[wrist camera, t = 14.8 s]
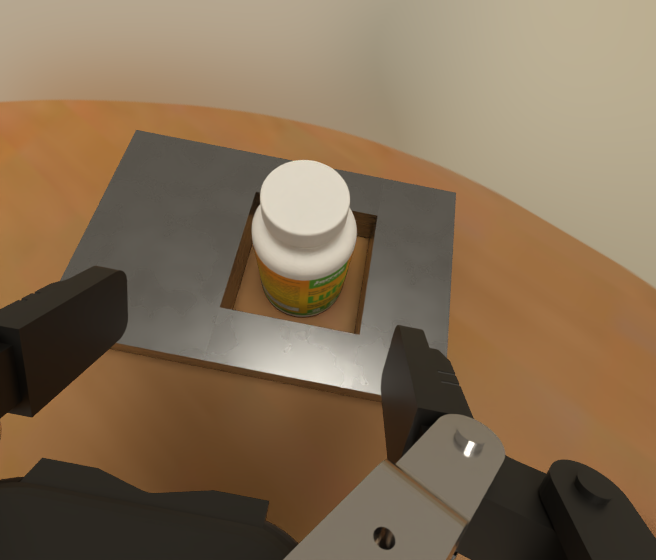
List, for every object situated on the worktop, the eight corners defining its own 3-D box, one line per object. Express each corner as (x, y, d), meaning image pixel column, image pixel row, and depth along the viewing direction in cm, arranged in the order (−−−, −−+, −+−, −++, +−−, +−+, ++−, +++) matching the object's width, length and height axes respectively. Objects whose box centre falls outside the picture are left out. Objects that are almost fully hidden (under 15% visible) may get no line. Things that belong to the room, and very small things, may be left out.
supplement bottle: (311, 335, 24) (318, 274, 15) (245, 287, 25) (216, 203, 16) (357, 273, 26) (389, 187, 17) (295, 231, 27) (294, 128, 18)
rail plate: (68, 340, 23) (36, 327, 20) (152, 160, 28) (136, 129, 25) (426, 411, 23) (444, 407, 20) (440, 216, 28) (455, 192, 25)
